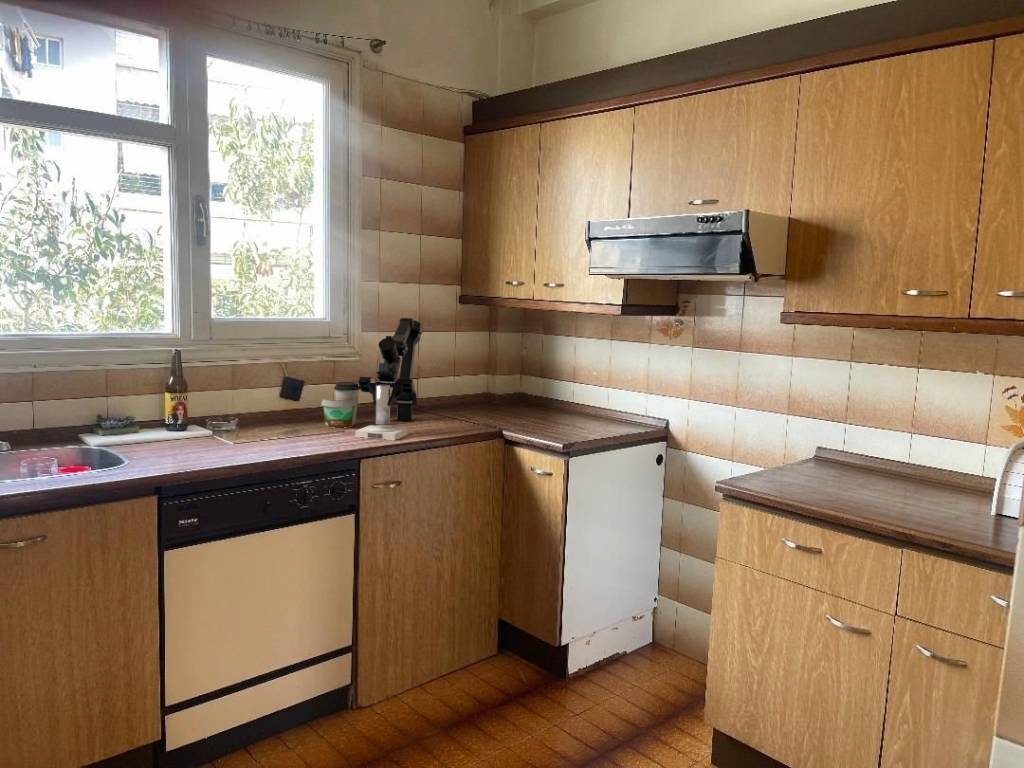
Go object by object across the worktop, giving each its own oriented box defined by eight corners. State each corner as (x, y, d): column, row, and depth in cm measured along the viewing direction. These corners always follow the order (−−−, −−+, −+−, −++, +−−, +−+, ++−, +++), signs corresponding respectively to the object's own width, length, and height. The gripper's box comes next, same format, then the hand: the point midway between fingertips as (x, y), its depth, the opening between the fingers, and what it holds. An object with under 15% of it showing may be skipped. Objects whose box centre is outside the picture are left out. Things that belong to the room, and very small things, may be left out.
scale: (369, 431, 261) (369, 423, 260) (407, 434, 257) (407, 426, 257) (355, 437, 250) (355, 429, 249) (393, 440, 246) (394, 432, 246)
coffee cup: (329, 425, 271) (329, 384, 269) (341, 421, 280) (341, 381, 278) (353, 426, 269) (353, 385, 267) (364, 422, 278) (364, 382, 276)
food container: (321, 429, 262) (321, 401, 261) (321, 426, 268) (321, 398, 266) (357, 429, 265) (357, 401, 264) (356, 425, 271) (356, 398, 270)
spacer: (383, 421, 258) (383, 384, 256) (392, 423, 255) (393, 385, 253) (372, 423, 254) (372, 385, 252) (382, 425, 251) (382, 386, 249)
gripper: (359, 353, 256) (349, 389, 247) (413, 355, 254) (405, 391, 245) (366, 373, 265) (356, 408, 255) (417, 375, 263) (410, 411, 254)
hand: (381, 404), depth 252 cm, fingers closed on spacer, 5 cm apart
